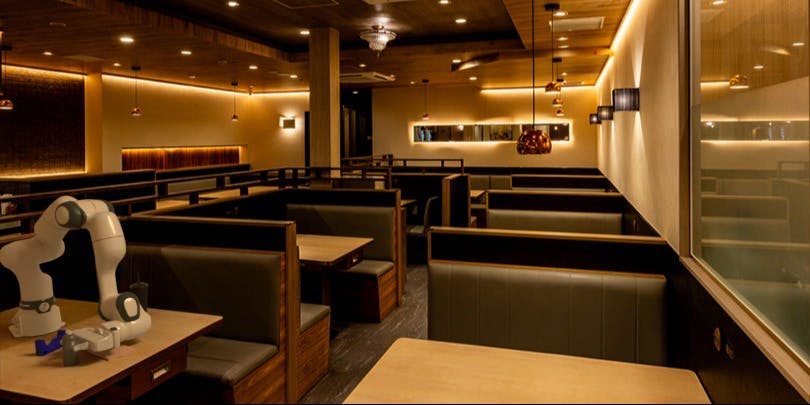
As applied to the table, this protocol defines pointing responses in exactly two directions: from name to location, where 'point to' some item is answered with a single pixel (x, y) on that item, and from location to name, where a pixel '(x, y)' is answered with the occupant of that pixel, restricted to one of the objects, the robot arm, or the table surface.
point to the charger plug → (69, 349)
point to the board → (114, 352)
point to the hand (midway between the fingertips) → (67, 345)
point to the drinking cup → (140, 292)
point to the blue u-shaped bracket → (55, 344)
